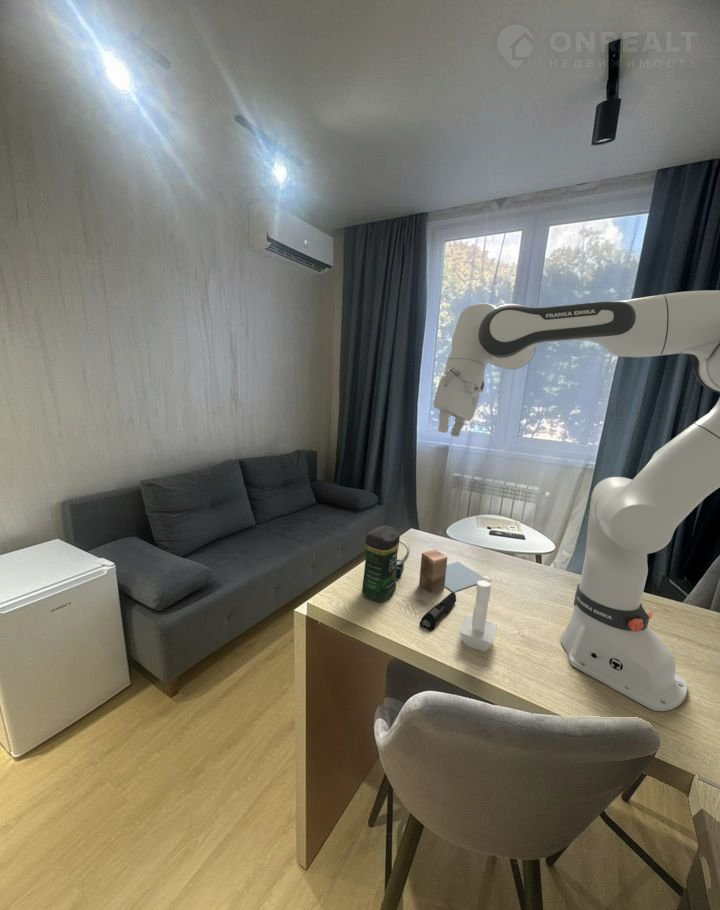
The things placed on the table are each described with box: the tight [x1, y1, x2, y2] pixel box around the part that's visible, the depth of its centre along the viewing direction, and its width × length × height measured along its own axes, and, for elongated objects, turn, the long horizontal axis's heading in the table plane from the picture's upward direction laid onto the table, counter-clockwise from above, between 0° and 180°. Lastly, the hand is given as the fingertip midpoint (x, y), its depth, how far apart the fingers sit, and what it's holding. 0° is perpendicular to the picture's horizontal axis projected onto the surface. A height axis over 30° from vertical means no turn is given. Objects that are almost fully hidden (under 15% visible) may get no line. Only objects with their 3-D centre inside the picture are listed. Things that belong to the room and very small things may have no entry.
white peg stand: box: [458, 575, 498, 653], centre depth 83 cm, size 7×9×15 cm
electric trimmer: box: [419, 592, 457, 632], centre depth 94 cm, size 4×15×3 cm, turn 140°
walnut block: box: [418, 549, 448, 595], centre depth 105 cm, size 5×5×10 cm
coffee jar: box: [361, 524, 401, 602], centre depth 100 cm, size 10×8×19 cm
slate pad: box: [444, 561, 483, 593], centre depth 112 cm, size 12×14×1 cm
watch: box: [396, 538, 411, 580], centre depth 112 cm, size 6×8×11 cm
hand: (448, 434), depth 88 cm, fingers open, 8 cm apart
